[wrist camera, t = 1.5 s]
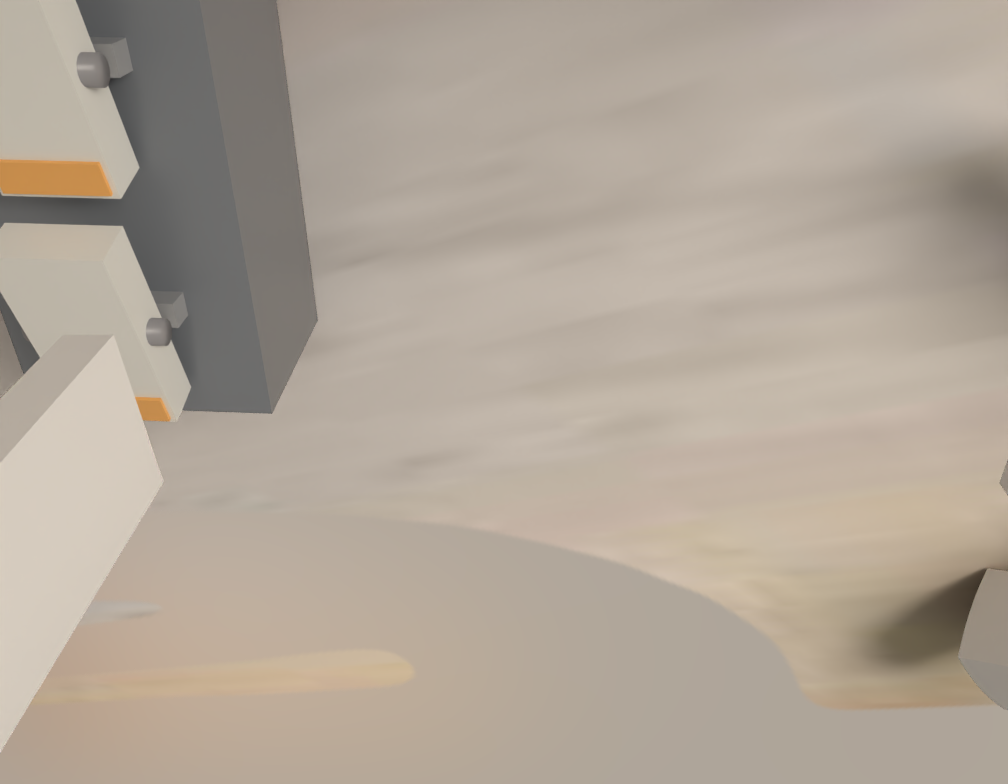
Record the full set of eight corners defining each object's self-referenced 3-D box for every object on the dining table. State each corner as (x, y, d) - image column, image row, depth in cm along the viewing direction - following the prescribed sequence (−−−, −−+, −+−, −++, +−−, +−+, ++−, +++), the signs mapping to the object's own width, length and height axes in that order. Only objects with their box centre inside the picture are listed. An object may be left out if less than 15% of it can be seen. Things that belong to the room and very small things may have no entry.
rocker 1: (-119, -89, 23) (-159, -61, 22) (60, -87, 23) (29, -58, 22) (11, 164, 29) (-15, 198, 28) (153, 168, 29) (134, 202, 28)
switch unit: (-112, -480, 26) (-377, -604, 19) (213, -481, 26) (74, -610, 18) (112, 313, 42) (15, 418, 34) (317, 320, 41) (265, 427, 34)
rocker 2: (-11, 222, 28) (-39, 259, 27) (137, 226, 28) (116, 264, 27) (81, 383, 34) (62, 420, 33) (203, 387, 34) (189, 425, 33)
